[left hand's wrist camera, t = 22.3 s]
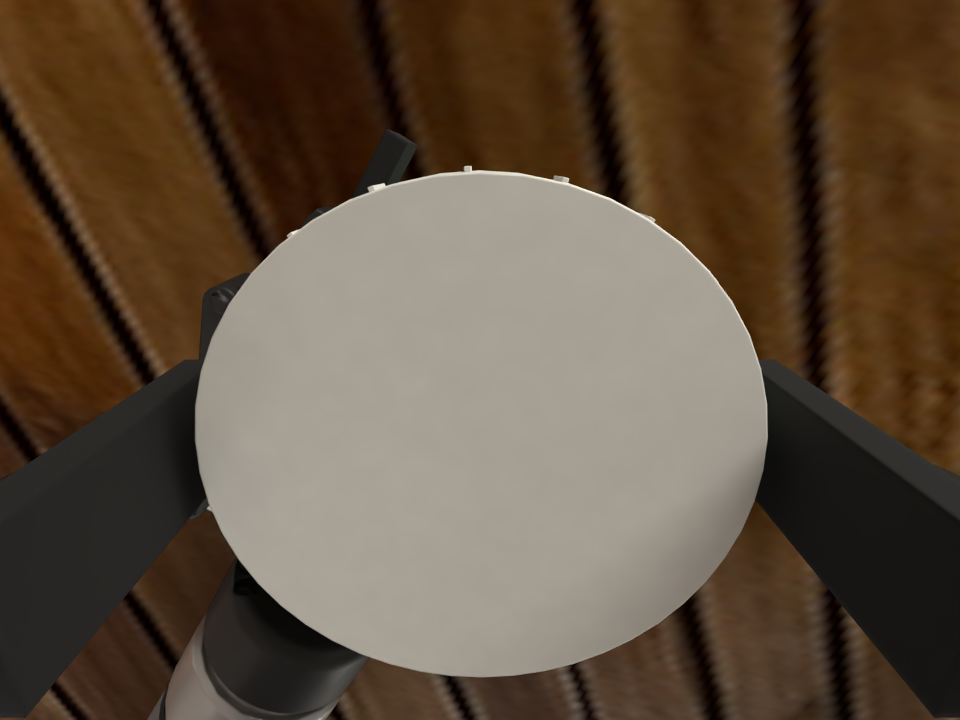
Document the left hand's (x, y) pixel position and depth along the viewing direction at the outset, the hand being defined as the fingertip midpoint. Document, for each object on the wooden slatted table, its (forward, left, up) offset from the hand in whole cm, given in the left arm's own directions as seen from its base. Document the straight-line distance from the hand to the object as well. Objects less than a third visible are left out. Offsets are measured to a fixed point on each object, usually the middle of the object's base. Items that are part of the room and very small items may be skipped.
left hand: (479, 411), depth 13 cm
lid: (0, 0, +2) cm, 2 cm away
